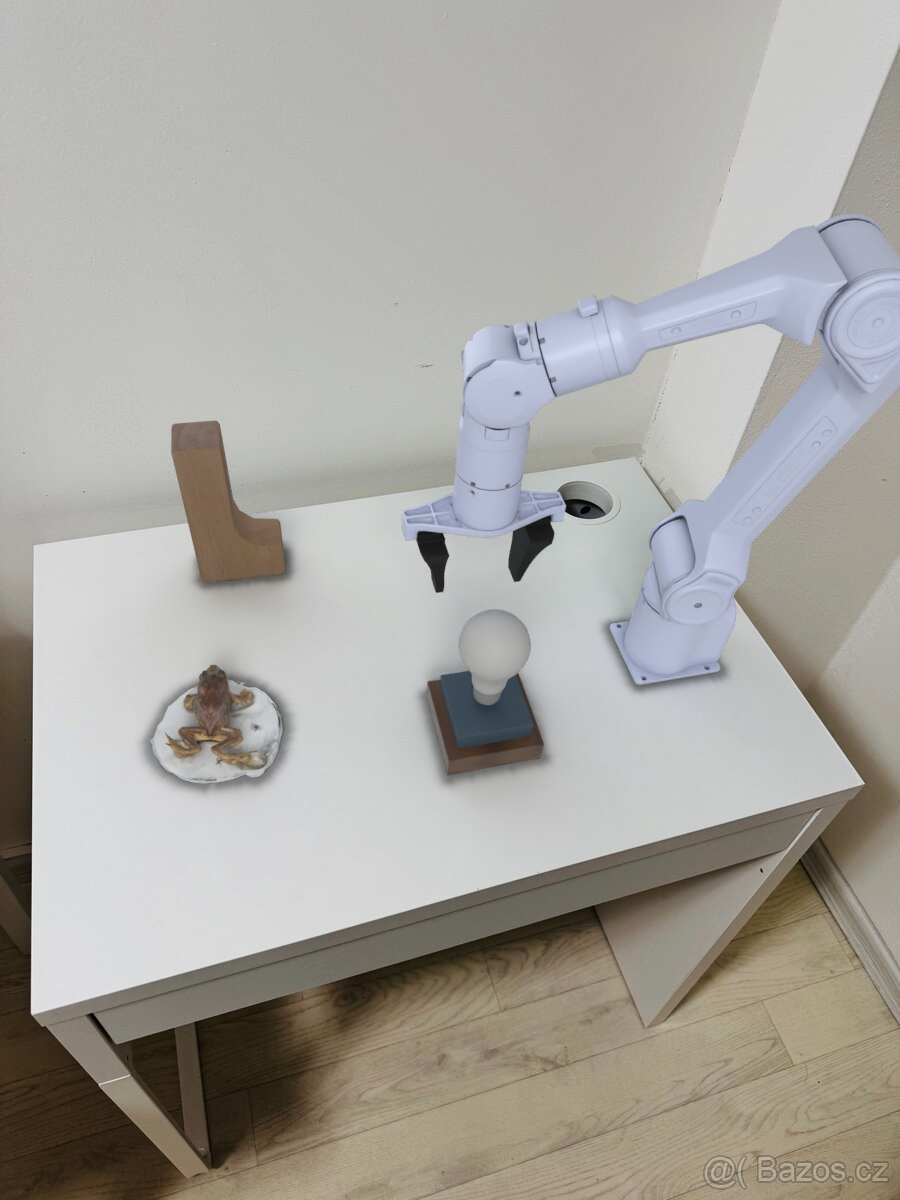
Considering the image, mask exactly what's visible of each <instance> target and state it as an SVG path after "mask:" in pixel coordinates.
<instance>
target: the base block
mask: <svg viewBox="0 0 900 1200" xmlns="http://www.w3.org/2000/svg"><path fill="white" fill-rule="evenodd" d="M516 677H517V680H518V683H519V686H520V689H521V691H522V694H523V697H524V700H525V703H526V705H527V708H528V711H529V714H530V717H531V719H532V722H533V728H532V732H531V736H529V737H523V738H518V739H512V740H506V741H501V742H495V743H489V744H484V745H478V746H473V747H467V748H461V749H457V748H456V744H455V740H454V737H453V733H452V730H451V726H450V723H449V719H448V716H447V712H446V708H445V705H444V701H443V698H442V694H441V691H440V678H439V679H433V680H428V681H427V682H426V695H425V697H426V700H427V704H428V708H429V712H430V715H431V719H432V723H433V726H434V731H435V734H436V738H437V741H438V746H439V749H440V753H441V757H442V761H443V764H444V768H445V771H446V775H447V776H451V775H456V774H457V775H458V774H463V773H466V772H472V771H473V772H474V771H479V770H484V769H488V768H489V769H490V768H495V767H499V766H506V765H511V764H516V763H521V762H527V761H533V760H538V759H541V757H542V753H543V750H544V747H545V742H544V740H543V736H542V733H541V732H540V731H541V730H540V728H539V725H538V723H537V720H536V717H535V715H534V713H533V709H532V705H531V704H530V700H529V698H528V695H527V692H526V690H525V686H524V685H523V682H522V678H521V676H520V672H519V673H517V674H516Z"/></svg>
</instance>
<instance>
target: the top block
mask: <svg viewBox="0 0 900 1200" xmlns="http://www.w3.org/2000/svg"><path fill="white" fill-rule="evenodd" d="M439 679H440V691H441V694H442V698H443V701H444V705H445V708H446V712H447V716H448V719H449V723H450V726H451V730H452V733H453V737H454V740H455V744H456V748H457V749H461V748H467V747H473V746H478V745H484V744H489V743H495V742H501V741H506V740H512V739H518V738H523V737H529V736H531V732H532V728H533V722H532V719H531V717H530V714H529V711H528V708H527V705H526V703H525V700H524V697H523V694H522V691H521V689H520V686H519V683H518V680H517V677H516V675H514V676H513V677H511V678H510V679H508V680H507V683H506V686H505V688H504V689H503V690H502V693H501V696H500V699H499V701H498V702H496V703H495V704H493V705H483V704H480V703H479V702H477V701H476V700H475V698H474V695H473V684H472V674H471V672H470V671H469V670H465V671H459V672H453V673H446V674H445V673H444V674H441V675H440V678H439Z"/></svg>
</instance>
